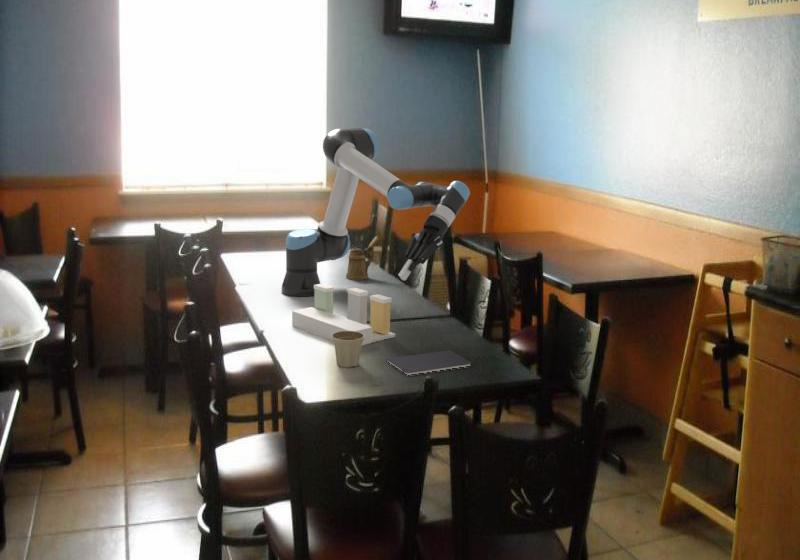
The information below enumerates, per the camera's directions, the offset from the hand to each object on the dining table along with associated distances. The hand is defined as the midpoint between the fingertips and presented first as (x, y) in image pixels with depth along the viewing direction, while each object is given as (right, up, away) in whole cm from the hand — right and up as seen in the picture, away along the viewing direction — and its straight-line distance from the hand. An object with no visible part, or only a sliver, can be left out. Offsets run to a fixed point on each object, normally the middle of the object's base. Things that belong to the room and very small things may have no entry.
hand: (401, 277), depth 262 cm
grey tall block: (-15, -15, +5) cm, 22 cm away
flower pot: (-15, -25, -30) cm, 42 cm away
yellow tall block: (-7, -17, -2) cm, 19 cm away
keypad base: (-20, -17, +1) cm, 26 cm away
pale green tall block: (-26, -14, +9) cm, 31 cm away
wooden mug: (-16, 0, +77) cm, 78 cm away
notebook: (+8, -26, -27) cm, 38 cm away
